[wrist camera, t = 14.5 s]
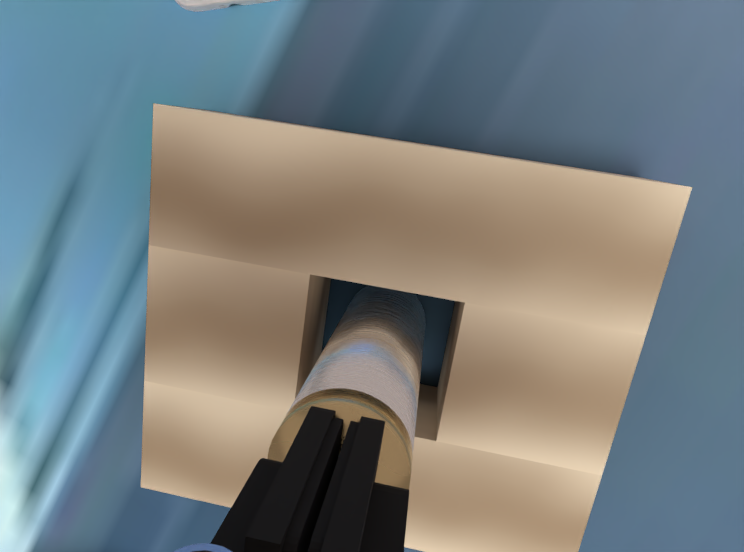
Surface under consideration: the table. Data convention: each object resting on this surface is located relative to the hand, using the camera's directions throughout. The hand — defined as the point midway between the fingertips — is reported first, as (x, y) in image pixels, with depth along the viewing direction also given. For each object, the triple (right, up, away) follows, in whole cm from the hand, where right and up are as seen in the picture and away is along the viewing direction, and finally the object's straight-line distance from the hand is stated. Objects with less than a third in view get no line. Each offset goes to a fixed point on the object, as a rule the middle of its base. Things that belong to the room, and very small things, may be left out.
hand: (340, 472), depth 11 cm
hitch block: (+1, +3, +10) cm, 10 cm away
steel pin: (+1, +2, +10) cm, 10 cm away
